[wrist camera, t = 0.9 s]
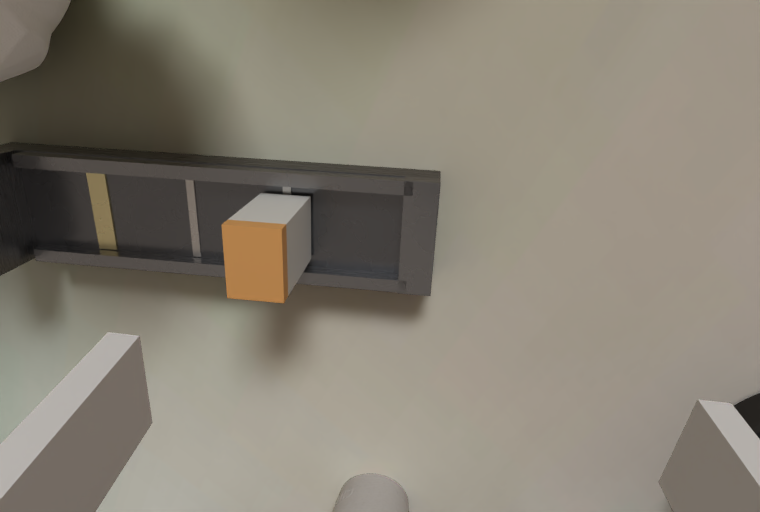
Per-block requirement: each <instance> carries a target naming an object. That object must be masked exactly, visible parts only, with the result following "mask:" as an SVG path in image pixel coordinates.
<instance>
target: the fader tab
mask: <svg viewBox="0 0 760 512" xmlns="http://www.w3.org/2000/svg"><path fill="white" fill-rule="evenodd" d="M221 226H222V239H223V251H224V264H225V277H226V289H227V298H232V299H243V300H254V301H265V302H276V303H284V302H285V301H286V299H287V298H288V296H289V294H290V293H291V291H292V289H293V288H294V286H295V284H296V283H297V281H298V280H299V278H300V276H301V275H302V273H303V271H304V270H305V268H306V267H307V265H308V263H309V262H310V260H311V196H300V195H286V194H272V193H260V194H259V195H258V196H257V197H255V198H254V199H253V200H252V201H250V202H249V203H248V204H247V205H245V206H244V207H243V208H242V209H240V210H239V211H238V212H237V213H235V214H234V215H233V216H232V217H230V218H229V219H228V220H227V221H225V222H224V223H223V224H222V225H221Z"/></svg>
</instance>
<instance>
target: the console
mask: <svg viewBox="0 0 760 512" xmlns="http://www.w3.org/2000/svg"><path fill="white" fill-rule="evenodd" d="M260 193H272V194H286V195H300V196H311V260H310V262H309V263H308V265H307V267H306V268H305V270H304V271H303V273H302V275H301V276H300V278H299V280H298V281H297V283H296V284H306V285H318V286H329V287H341V288H352V289H364V290H375V291H387V292H397V293H401V294H412V295H424V296H430V294H431V282H432V271H433V260H434V249H435V238H436V227H437V216H438V205H439V194H440V171H431V170H416V169H401V168H386V167H371V166H356V165H341V164H326V163H311V162H296V161H281V160H266V159H251V158H236V157H221V156H207V155H192V154H177V153H162V152H147V151H132V150H117V149H102V148H87V147H72V146H57V145H42V144H27V143H12V142H11V143H6V144H2V145H0V276H1V275H3V274H5V273H7V272H8V271H10V270H12V269H14V268H16V267H18V266H20V265H22V264H24V263H26V262H28V261H30V260H32V259H34V258H36V261H43V262H55V263H66V264H78V265H89V266H101V267H112V268H123V269H135V270H146V271H158V272H169V273H181V274H192V275H204V276H215V277H225V264H224V251H223V239H222V226H221V225H222V224H223V223H224V222H225V221H227V220H228V219H229V218H230V217H232V216H233V215H234V214H235V213H237V212H238V211H239V210H240V209H242V208H243V207H244V206H245V205H247V204H248V203H249V202H250V201H252V200H253V199H254V198H255V197H257V196H258V195H259V194H260Z"/></svg>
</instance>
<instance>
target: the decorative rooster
mask: <svg viewBox="0 0 760 512" xmlns="http://www.w3.org/2000/svg"><path fill="white" fill-rule="evenodd" d="M70 2H71V0H0V82H2V81H4V80H7V79H10V78H13V77H15V76H18V75H21V74H23V73H26V72H28V71H31V70H33V69H35V68H37V67H39V66H40V65H41V63H42V62H43V61H44V59H45V57H46V55H47V53H48V50H49V44H50V39H51V33H52V32H53V31H54V30H55V28H56V27H57V26H58V24H59V23H60V21H61V20H62V18H63V16H64V15H65V13H66V11H67V9H68V7H69V4H70Z"/></svg>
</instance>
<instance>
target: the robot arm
mask: <svg viewBox="0 0 760 512" xmlns="http://www.w3.org/2000/svg"><path fill="white" fill-rule="evenodd" d="M151 424H152V417H151V410H150V403H149V396H148V389H147V382H146V376H145V369H144V362H143V355H142V348H141V342H140V336H138V335H129V334H120V333H111V332H108V333H107V334H106V335H105V336H104V337H103V338H102V339H101V340H100V341H99V342H98V343H97V344H96V345H95V346H94V347H93V348H92V349H91V350H90V351H89V352H88V353H87V354H86V355H85V357H84V358H83V359H82V360H81V361H80V362H79V363H78V364H77V365H76V366H75V367H74V368H73V369H72V370H71V371H70V372H69V373H68V374H67V375H66V376H65V377H64V378H63V379H62V381H61V382H60V383H59V384H58V385H57V386H56V387H55V388H54V389H53V390H52V391H51V392H50V393H49V394H48V395H47V396H46V397H45V398H44V399H43V400H42V401H41V402H40V403H39V405H38V406H37V407H36V408H35V409H34V410H33V411H32V412H31V413H30V414H29V415H28V416H27V417H26V418H25V419H24V420H23V421H22V422H21V423H20V424H19V425H18V426H17V427H16V429H15V430H14V431H13V432H12V433H11V434H10V435H9V436H8V437H7V438H6V439H5V440H4V441H3V442H2V443H1V444H0V512H95V511H96V510H97V508H98V507H99V505H100V504H101V502H102V501H103V499H104V497H105V496H106V494H107V493H108V491H109V490H110V488H111V487H112V485H113V483H114V482H115V480H116V479H117V477H118V476H119V474H120V472H121V471H122V469H123V468H124V466H125V465H126V463H127V462H128V460H129V458H130V457H131V455H132V454H133V452H134V451H135V449H136V448H137V446H138V444H139V443H140V441H141V440H142V438H143V437H144V435H145V434H146V432H147V430H148V429H149V427H150V426H151ZM659 484H660V486H661V488H662V490H663V492H664V494H665V496H666V498H667V500H668V502H669V504H670V506H671V508H672V510H673V512H760V394H757V395H755V396H753V397H750V398H748V399H746V400H744V401H742V402H740V403H739V404H737V405H735V406H733V405H732V404H731V403H725V402H716V401H708V400H699V399H698V400H697V402H696V404H695V406H694V408H693V410H692V413H691V415H690V417H689V419H688V421H687V423H686V425H685V427H684V430H683V432H682V434H681V436H680V438H679V440H678V442H677V444H676V446H675V449H674V451H673V453H672V455H671V457H670V459H669V461H668V463H667V465H666V468H665V470H664V472H663V474H662V476H661V478H660V480H659Z"/></svg>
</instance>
